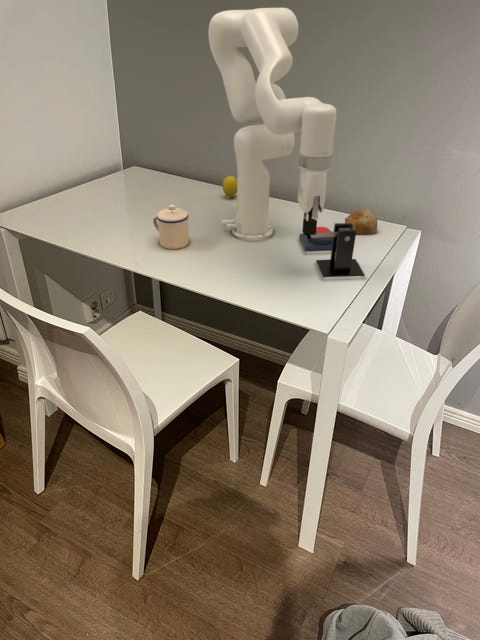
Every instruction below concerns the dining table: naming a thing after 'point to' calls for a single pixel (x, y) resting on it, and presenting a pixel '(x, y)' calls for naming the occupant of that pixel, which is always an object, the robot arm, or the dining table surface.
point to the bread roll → (362, 222)
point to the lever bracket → (341, 255)
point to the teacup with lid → (172, 227)
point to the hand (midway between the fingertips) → (309, 233)
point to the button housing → (316, 243)
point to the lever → (324, 234)
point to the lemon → (230, 186)
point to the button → (322, 230)
